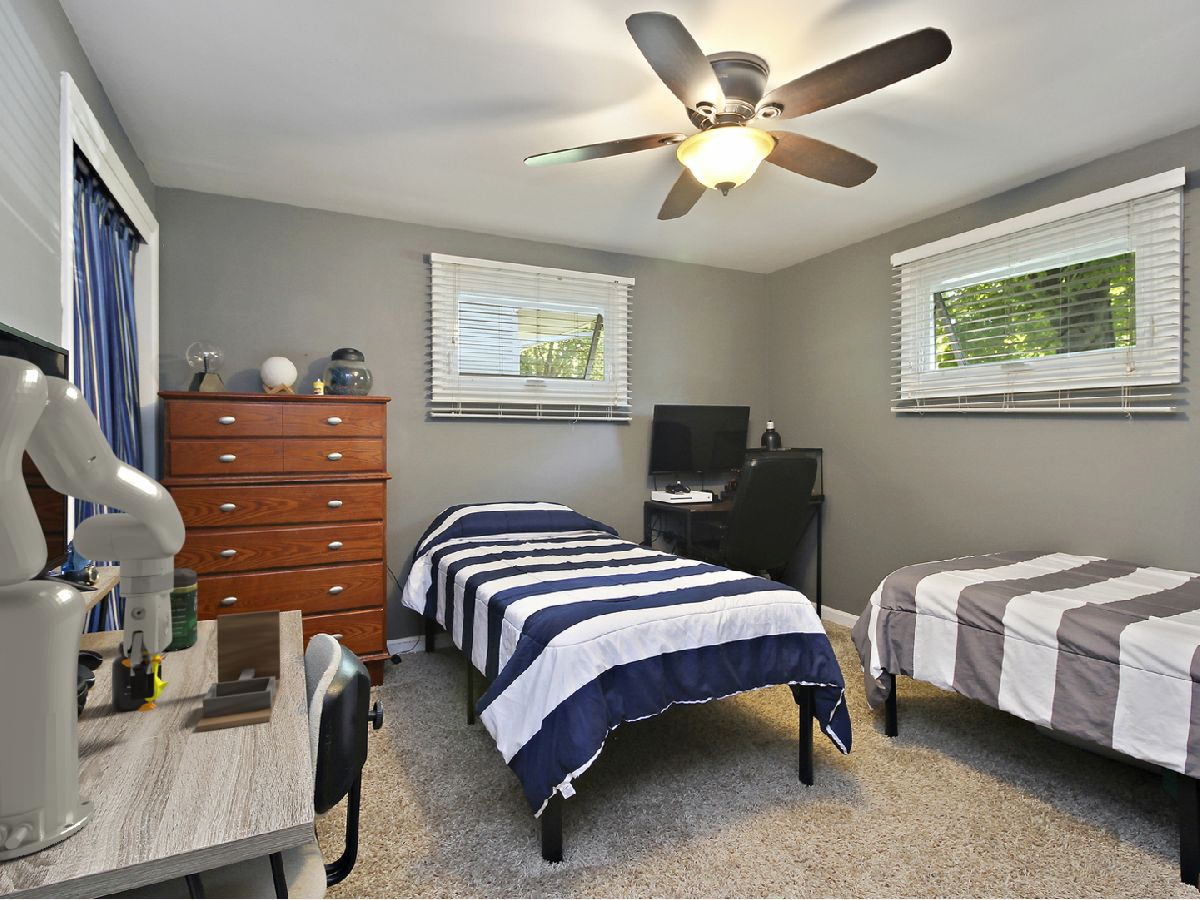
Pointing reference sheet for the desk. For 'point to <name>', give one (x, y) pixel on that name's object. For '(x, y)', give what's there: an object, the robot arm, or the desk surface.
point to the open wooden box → (244, 671)
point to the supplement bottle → (123, 685)
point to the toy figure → (157, 682)
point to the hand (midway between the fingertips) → (146, 692)
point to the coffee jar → (183, 609)
